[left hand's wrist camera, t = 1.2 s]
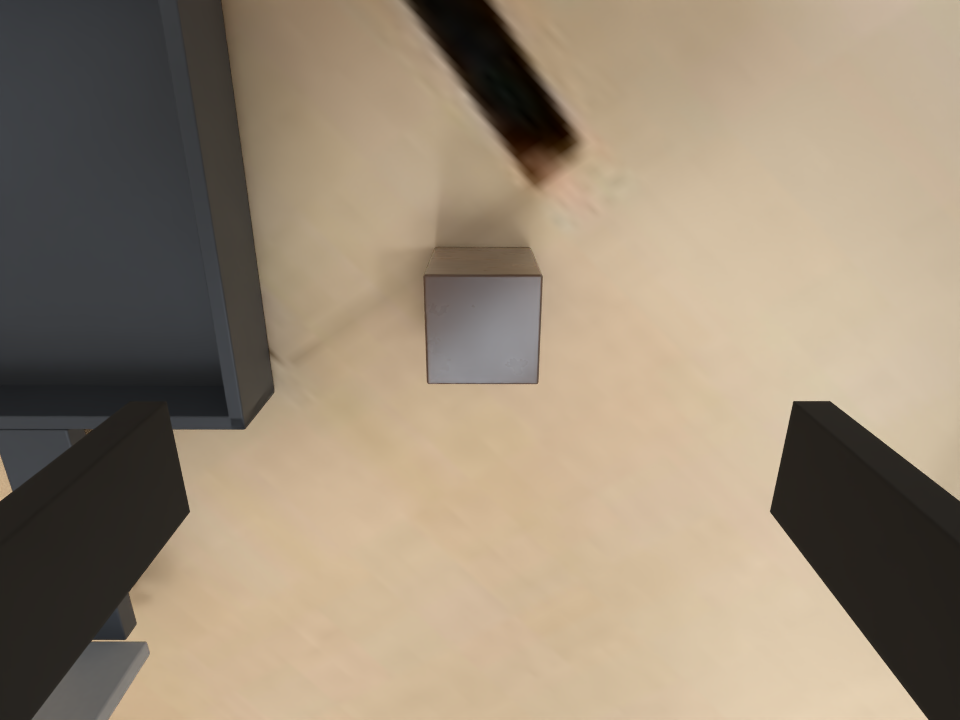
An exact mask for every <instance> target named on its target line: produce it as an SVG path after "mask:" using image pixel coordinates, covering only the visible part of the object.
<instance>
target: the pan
mask: <svg viewBox="0 0 960 720" xmlns="http://www.w3.org/2000/svg"><path fill="white" fill-rule="evenodd" d="M273 393H274V387H273V380H272V372H271V365H270V358H269V350H268V343H267V336H266V328H265V321H264V314H263V306H262V299H261V292H260V284H259V277H258V270H257V262H256V255H255V248H254V240H253V233H252V226H251V218H250V211H249V204H248V196H247V189H246V182H245V174H244V167H243V160H242V152H241V145H240V137H239V130H238V123H237V115H236V108H235V101H234V93H233V86H232V79H231V71H230V64H229V57H228V49H227V42H226V35H225V27H224V20H223V13H222V5H221V0H0V455H1V458H2V461H3V464H4V467H5V470H6V473H7V476H8V479H9V482H10V485H11V488H12V491H14V490H16V489H17V488H18V487H19V486H21V485H22V484H23V483H25V482H26V481H27V480H29V479H30V478H31V477H32V476H34V475H35V474H36V473H38V472H39V471H40V470H41V469H43V468H44V467H45V466H47V465H48V464H49V463H51V462H52V461H53V460H54V459H56V458H57V457H58V456H60V455H61V454H62V453H64V452H65V451H66V450H67V449H69V448H70V447H71V446H73V445H74V444H75V443H77V442H78V441H79V440H80V439H82V438H83V437H84V436H86V434H85V430H84V429H95V428H96V427H97V426H99V425H100V424H101V423H102V422H104V421H105V420H106V419H108V418H109V417H110V416H112V415H113V414H114V413H115V412H117V411H118V410H119V409H121V408H122V407H123V406H124V405H126V404H127V403H128V402H130V401H167V406H168V411H169V415H170V420H171V425H172V429H246V427H247V426H248V425H249V424H250V422H251V421H252V420H253V419H254V417H255V416H256V415H257V414H258V412H259V411H260V410H261V409H262V407H263V406H264V405H265V403H266V402H267V401H268V400H269V398H270V397H271V396H272V395H273ZM136 624H137V623H136V619H135V615H134V611H133V608H132V604H131V600H130V597H129V593H128V594H127V595H126V596H125V598H124V599H123V600H122V602H121V603H120V604H119V606H118V607H117V608H116V609H115V611H114V612H113V613H112V615H111V616H110V617H109V619H108V620H107V621H106V623H105V624H104V625H103V627H102V628H101V629H100V630H99V632H98V633H97V634H96V636H95V637H94V638H93V640H126V639H127V637H128V636H129V634H130V633H131V632H132V630H133V629H134V627H135V626H136ZM149 654H150V652H149V648H148V644H147V642H90V644H89V645H88V646H87V648H86V649H85V650H84V651H83V653H82V654H81V655H80V657H79V658H78V659H77V661H76V662H75V663H74V665H73V666H72V667H71V669H70V670H69V671H68V672H67V674H66V675H65V676H64V678H63V679H62V680H61V682H60V683H59V684H58V686H57V687H56V688H55V689H54V691H53V692H52V693H51V695H50V696H49V697H48V699H47V700H46V701H45V703H44V704H43V705H42V707H41V708H40V709H39V710H38V712H37V713H36V714H35V716H34V717H33V718H32V720H108V719H109V718H110V716H111V715H112V713H113V711H114V710H115V708H116V707H117V705H118V704H119V702H120V700H121V699H122V697H123V696H124V694H125V692H126V691H127V689H128V688H129V686H130V685H131V683H132V681H133V680H134V678H135V677H136V675H137V674H138V672H139V670H140V669H141V667H142V666H143V664H144V662H145V661H146V659H147V658H148V656H149Z"/></svg>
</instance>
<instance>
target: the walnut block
mask: <svg viewBox="0 0 960 720" xmlns="http://www.w3.org/2000/svg"><path fill="white" fill-rule="evenodd" d="M423 278H424V308H425V337H426V367H427V383H428V384H538V379H539V354H540V330H541V305H542V281H543V276H542V274H541V271H540V269H539V267H538V264H537V262H536V260H535V257H534V255H533V253H532V250H531V248H434V251H433V254H432V256H431V259H430V261H429V264H428V266H427V269H426V271H425V274H424V276H423Z"/></svg>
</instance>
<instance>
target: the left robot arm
mask: <svg viewBox="0 0 960 720" xmlns="http://www.w3.org/2000/svg"><path fill="white" fill-rule="evenodd" d="M189 512H190V510H189V505H188V500H187V496H186V491H185V486H184V481H183V477H182V472H181V467H180V463H179V458H178V453H177V448H176V444H175V439H174V434H173V429H172V425H171V420H170V415H169V411H168V406H167V401H130V402H128V403H127V404H126V405H124V406H123V407H122V408H121V409H119V410H118V411H117V412H115V413H114V414H113V415H112V416H110V417H109V418H108V419H106V420H105V421H104V422H102V423H101V424H100V425H99V426H97V427H96V428H95V429H93V430H92V431H91V432H89V433H88V434H87V435H86V436H84V437H83V438H82V439H80V440H79V441H78V442H77V443H75V444H74V445H73V446H71V447H70V448H69V449H67V450H66V451H65V452H64V453H62V454H61V455H60V456H58V457H57V458H56V459H54V460H53V461H52V462H51V463H49V464H48V465H47V466H45V467H44V468H43V469H41V470H40V471H39V472H38V473H36V474H35V475H34V476H32V477H31V478H30V479H29V480H27V481H26V482H25V483H23V484H22V485H21V486H19V487H18V488H17V489H16V490H14V491H13V492H12V493H10V494H9V495H8V496H6V497H5V498H4V499H3V500H1V501H0V720H32V718H33V717H34V716H35V714H36V713H37V712H38V710H39V709H40V708H41V707H42V705H43V704H44V703H45V701H46V700H47V699H48V697H49V696H50V695H51V693H52V692H53V691H54V689H55V688H56V687H57V686H58V684H59V683H60V682H61V680H62V679H63V678H64V676H65V675H66V674H67V672H68V671H69V670H70V669H71V667H72V666H73V665H74V663H75V662H76V661H77V659H78V658H79V657H80V655H81V654H82V653H83V651H84V650H85V649H86V648H87V646H88V645H89V644H90V642H91V641H92V640H93V638H94V637H95V636H96V634H97V633H98V632H99V630H100V629H101V628H102V627H103V625H104V624H105V623H106V621H107V620H108V619H109V617H110V616H111V615H112V613H113V612H114V611H115V609H116V608H117V607H118V606H119V604H120V603H121V602H122V600H123V599H124V598H125V596H126V595H127V594H128V592H129V591H130V590H131V588H132V587H133V586H134V585H135V583H136V582H137V581H138V579H139V578H140V577H141V575H142V574H143V573H144V571H145V570H146V569H147V568H148V566H149V565H150V564H151V562H152V561H153V560H154V558H155V557H156V556H157V554H158V553H159V552H160V550H161V549H162V548H163V547H164V545H165V544H166V543H167V541H168V540H169V539H170V537H171V536H172V535H173V533H174V532H175V531H176V529H177V528H178V527H179V526H180V524H181V523H182V522H183V520H184V519H185V518H186V516H187V515H188V514H189ZM770 512H771V514H772V515H773V516H774V518H775V519H776V520H777V522H778V523H779V524H780V526H781V527H782V528H783V529H784V531H785V532H786V533H787V535H788V536H789V537H790V539H791V540H792V541H793V543H794V544H795V545H796V547H797V548H798V549H799V550H800V552H801V553H802V554H803V556H804V557H805V558H806V560H807V561H808V562H809V564H810V565H811V566H812V568H813V569H814V570H815V571H816V573H817V574H818V575H819V577H820V578H821V579H822V581H823V582H824V583H825V585H826V586H827V587H828V588H829V590H830V591H831V592H832V594H833V595H834V596H835V598H836V599H837V600H838V602H839V603H840V604H841V606H842V607H843V608H844V609H845V611H846V612H847V613H848V615H849V616H850V617H851V619H852V620H853V621H854V623H855V624H856V625H857V627H858V628H859V629H860V630H861V632H862V633H863V634H864V636H865V637H866V638H867V640H868V641H869V642H870V644H871V645H872V646H873V648H874V649H875V650H876V651H877V653H878V654H879V655H880V657H881V658H882V659H883V661H884V662H885V663H886V665H887V666H888V667H889V669H890V670H891V671H892V672H893V674H894V675H895V676H896V678H897V679H898V680H899V682H900V683H901V684H902V686H903V687H904V688H905V689H906V691H907V692H908V693H909V695H910V696H911V697H912V699H913V700H914V701H915V703H916V704H917V705H918V707H919V708H920V709H921V710H922V712H923V713H924V714H925V716H926V717H927V718H928V720H960V501H959V500H957V499H956V498H955V497H954V496H952V495H951V494H950V493H948V492H947V491H946V490H944V489H943V488H942V487H941V486H939V485H938V484H937V483H935V482H934V481H933V480H931V479H930V478H929V477H928V476H926V475H925V474H924V473H922V472H921V471H920V470H919V469H917V468H916V467H915V466H913V465H912V464H911V463H909V462H908V461H907V460H906V459H904V458H903V457H902V456H900V455H899V454H898V453H896V452H895V451H894V450H893V449H891V448H890V447H889V446H887V445H886V444H885V443H883V442H882V441H881V440H880V439H878V438H877V437H876V436H874V435H873V434H872V433H871V432H869V431H868V430H867V429H865V428H864V427H863V426H861V425H860V424H859V423H858V422H856V421H855V420H854V419H852V418H851V417H850V416H848V415H847V414H846V413H845V412H843V411H842V410H841V409H839V408H838V407H837V406H836V405H834V404H833V403H832V402H830V401H793V406H792V411H791V415H790V420H789V425H788V429H787V434H786V439H785V444H784V448H783V453H782V458H781V463H780V467H779V472H778V477H777V481H776V486H775V491H774V496H773V500H772V505H771V510H770Z"/></svg>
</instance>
